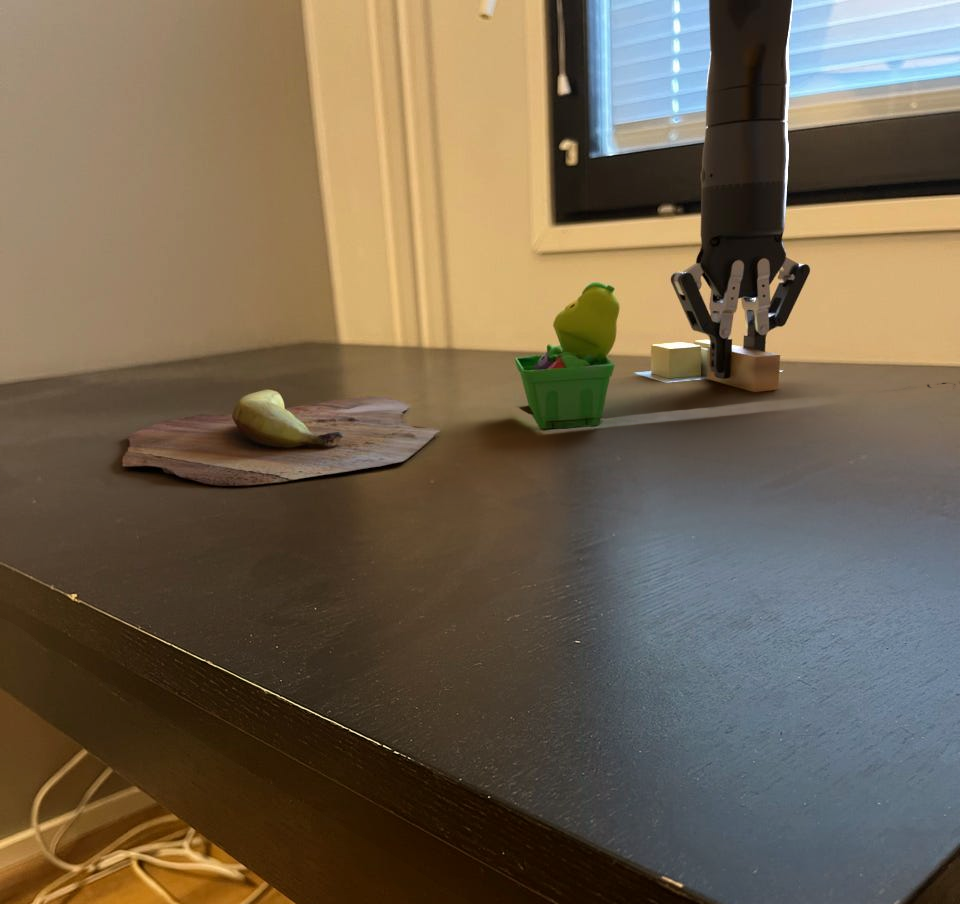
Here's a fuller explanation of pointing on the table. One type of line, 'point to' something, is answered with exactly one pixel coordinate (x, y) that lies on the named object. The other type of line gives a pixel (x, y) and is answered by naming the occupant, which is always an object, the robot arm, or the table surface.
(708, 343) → the butter pat
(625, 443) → the table surface
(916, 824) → the table surface
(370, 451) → the cutting board
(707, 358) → the knife
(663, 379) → the butter dish
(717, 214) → the robot arm
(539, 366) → the fruit basket
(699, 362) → the butter stick
